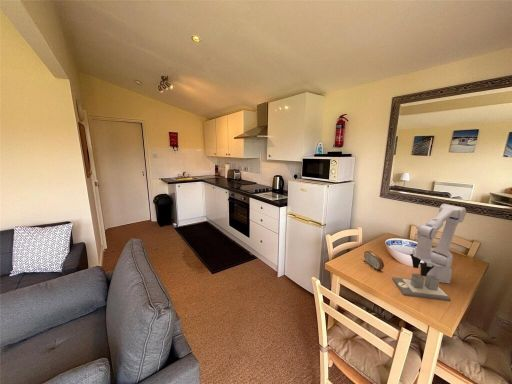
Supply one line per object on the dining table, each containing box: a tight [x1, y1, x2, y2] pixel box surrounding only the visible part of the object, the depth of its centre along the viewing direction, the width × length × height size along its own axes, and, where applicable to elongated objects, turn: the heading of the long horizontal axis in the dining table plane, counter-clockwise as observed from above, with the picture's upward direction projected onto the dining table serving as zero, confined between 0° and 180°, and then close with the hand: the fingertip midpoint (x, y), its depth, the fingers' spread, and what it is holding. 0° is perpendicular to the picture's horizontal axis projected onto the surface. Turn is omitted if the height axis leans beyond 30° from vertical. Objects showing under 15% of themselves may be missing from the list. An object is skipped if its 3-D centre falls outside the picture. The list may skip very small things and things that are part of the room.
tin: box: [363, 250, 385, 271], centre depth 136 cm, size 15×3×8 cm, turn 10°
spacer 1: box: [410, 273, 425, 289], centre depth 114 cm, size 4×4×6 cm
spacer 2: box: [424, 275, 440, 290], centre depth 113 cm, size 4×4×6 cm
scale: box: [391, 276, 451, 302], centre depth 115 cm, size 21×14×2 cm, turn 79°
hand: (419, 271), depth 113 cm, fingers open, 7 cm apart
